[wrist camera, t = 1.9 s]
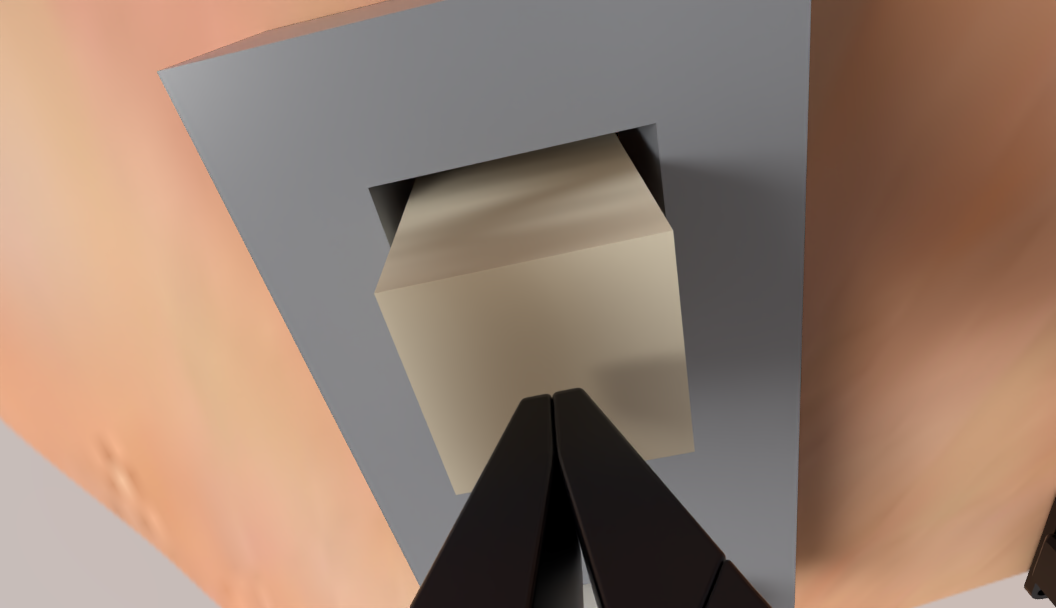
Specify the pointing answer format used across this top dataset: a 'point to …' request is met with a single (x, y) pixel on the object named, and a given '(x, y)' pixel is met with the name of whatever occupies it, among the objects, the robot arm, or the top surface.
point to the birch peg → (538, 299)
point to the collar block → (513, 128)
